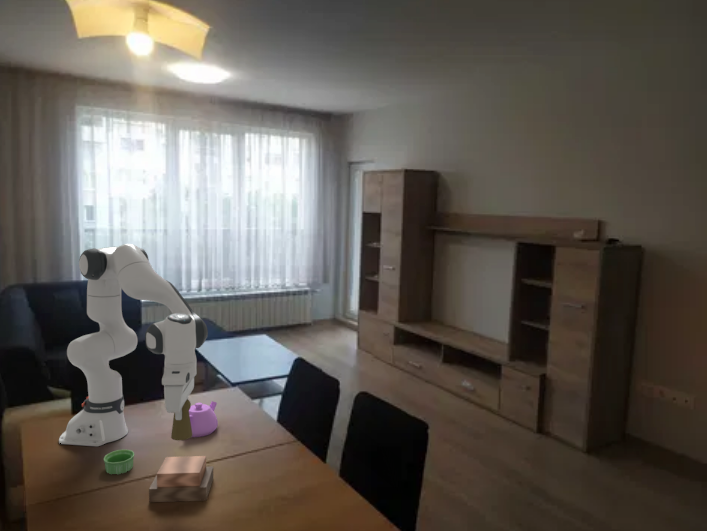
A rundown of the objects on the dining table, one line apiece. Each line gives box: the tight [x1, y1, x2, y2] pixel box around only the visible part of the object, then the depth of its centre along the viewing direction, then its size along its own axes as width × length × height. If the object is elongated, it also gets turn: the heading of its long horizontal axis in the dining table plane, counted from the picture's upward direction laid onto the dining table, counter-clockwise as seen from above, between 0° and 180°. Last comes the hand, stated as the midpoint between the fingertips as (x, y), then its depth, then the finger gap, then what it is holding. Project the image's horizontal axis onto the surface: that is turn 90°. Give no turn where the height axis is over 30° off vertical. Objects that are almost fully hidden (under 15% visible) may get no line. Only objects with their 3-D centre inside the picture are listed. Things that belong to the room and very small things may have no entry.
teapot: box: [189, 400, 219, 438], centre depth 194 cm, size 14×20×11 cm
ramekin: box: [103, 449, 135, 475], centre depth 164 cm, size 9×9×4 cm
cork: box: [170, 398, 193, 441], centre depth 150 cm, size 6×6×11 cm
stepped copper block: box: [148, 455, 214, 503], centre depth 152 cm, size 16×12×8 cm
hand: (181, 415), depth 150 cm, fingers closed on cork, 4 cm apart
